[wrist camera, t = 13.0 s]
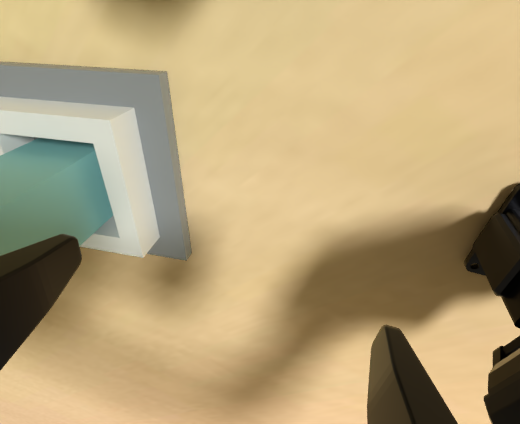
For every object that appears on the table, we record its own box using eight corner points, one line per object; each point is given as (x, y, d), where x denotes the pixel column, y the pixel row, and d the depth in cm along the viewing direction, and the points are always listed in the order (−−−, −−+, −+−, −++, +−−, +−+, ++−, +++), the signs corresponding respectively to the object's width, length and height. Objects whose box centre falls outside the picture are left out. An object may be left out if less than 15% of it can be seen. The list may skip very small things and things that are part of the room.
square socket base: (166, 71, 20) (135, 84, 17) (191, 252, 28) (172, 282, 25) (-25, 60, 22) (-80, 70, 20) (46, 228, 30) (14, 252, 27)
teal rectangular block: (107, 142, 22) (-115, 277, 12) (123, 205, 25) (-45, 360, 15) (39, 135, 23) (-222, 252, 13) (62, 196, 26) (-138, 335, 16)
